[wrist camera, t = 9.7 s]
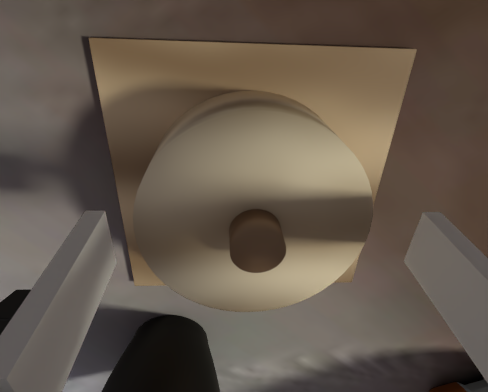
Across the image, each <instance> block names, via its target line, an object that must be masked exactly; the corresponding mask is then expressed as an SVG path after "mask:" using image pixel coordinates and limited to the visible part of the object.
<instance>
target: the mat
mask: <svg viewBox="0 0 488 392" xmlns="http://www.w3.org/2000/svg"><path fill="white" fill-rule="evenodd" d="M89 43H90V49H91V54H92V59H93V65H94V70H95V76H96V81H97V86H98V92H99V97H100V102H101V108H102V113H103V118H104V124H105V129H106V134H107V140H108V145H109V150H110V156H111V161H112V166H113V172H114V177H115V182H116V188H117V193H118V198H119V204H120V209H121V214H122V220H123V225H124V230H125V236H126V241H127V246H128V252H129V257H130V262H131V268H132V273H133V278H134V284H135V286H153V285H165V284H164V283H163V282H162V281H161V280H160V279H159V278H158V277H157V276H156V275H155V274H154V273H153V271H152V270H151V269H150V268H149V266H148V265H147V263H146V261H145V260H144V258H143V257H142V255H141V252H140V250H139V247H138V245H137V242H136V238H135V234H134V226H133V210H134V202H135V198H136V194H137V190H138V188H139V186H140V183H141V181H142V179H143V177H144V174H145V172H146V170H147V168H148V166H149V164H150V162H151V160H152V158H153V156H154V154H155V151H156V149H157V147H158V145H159V143H160V141H161V140H162V138H163V137H164V135H165V133H166V132H167V130H168V129H169V128H170V127H171V126H172V125H173V123H174V122H175V121H176V120H177V119H178V118H180V117H181V116H182V115H183V114H184V113H185V112H187V111H188V110H190V109H191V108H193V107H194V106H196V105H197V104H199V103H201V102H203V101H206V100H208V99H210V98H212V97H216V96H219V95H222V94H225V93H231V92H237V91H253V90H255V91H265V92H271V93H275V94H280V95H283V96H286V97H288V98H291V99H293V100H296V101H298V102H299V103H301V104H303V105H305V106H306V107H308V108H309V109H311V110H312V111H313V112H314V113H316V114H317V115H318V116H319V117H320V118H321V119H322V120H323V121H324V122H325V123H326V124H327V125H328V127H329V128H330V129H331V130H332V131H333V132H334V133H335V134H336V135H337V136H338V137H339V138H340V139H341V140H342V141H343V143H344V144H345V145H346V146H347V147H348V148H349V149H350V150H351V151H352V152H353V153H354V154H355V156H356V157H357V159H358V160H359V162H360V163H361V165H362V166H363V168H364V171H365V173H366V175H367V177H368V180H369V183H370V187H371V191H372V199H373V204H374V201H375V197H376V194H377V190H378V186H379V183H380V179H381V176H382V172H383V169H384V165H385V161H386V158H387V154H388V151H389V147H390V144H391V140H392V136H393V133H394V129H395V126H396V122H397V119H398V115H399V111H400V108H401V104H402V101H403V97H404V94H405V90H406V86H407V83H408V79H409V76H410V72H411V69H412V65H413V61H414V58H415V54H416V51H417V49H413V48H385V47H356V46H327V45H298V44H269V43H241V42H212V41H183V40H154V39H125V38H97V37H91V38H89ZM359 254H360V253H359ZM358 258H359V255H358V256H357V258H356V259H355V260H354V262H353V263H352V265H351V266H350V267H349V268H348V269H347V270H346V271H345V272H344V273H343V274H342V275H341V276H340V277H339V278H338V279H337V280H336V281H334V282H352V279H353V276H354V272H355V269H356V265H357V261H358Z"/></svg>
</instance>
